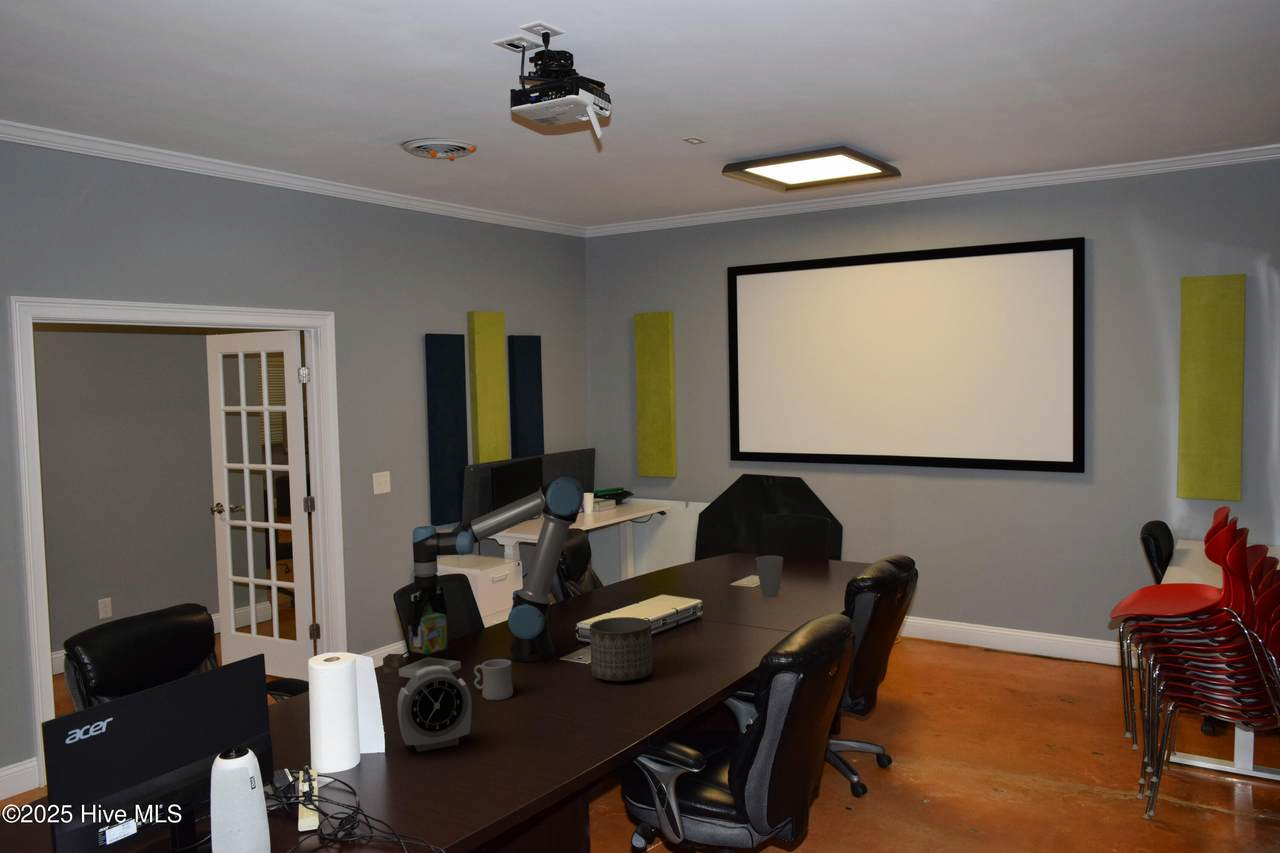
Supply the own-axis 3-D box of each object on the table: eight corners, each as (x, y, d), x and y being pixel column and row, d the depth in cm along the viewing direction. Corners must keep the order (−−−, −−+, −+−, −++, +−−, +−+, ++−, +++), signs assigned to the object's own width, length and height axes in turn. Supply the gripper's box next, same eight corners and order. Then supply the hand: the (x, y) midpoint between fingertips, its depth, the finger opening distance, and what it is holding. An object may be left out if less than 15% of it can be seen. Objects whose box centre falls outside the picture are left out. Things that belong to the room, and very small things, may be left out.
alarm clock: (403, 757, 231) (400, 677, 230) (398, 745, 238) (394, 668, 238) (474, 743, 238) (471, 666, 237) (467, 733, 245) (463, 658, 245)
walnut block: (404, 668, 307) (403, 653, 307) (397, 673, 302) (397, 658, 302) (389, 668, 307) (389, 653, 307) (383, 673, 303) (382, 658, 302)
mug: (518, 692, 278) (517, 659, 277) (504, 702, 269) (503, 668, 269) (482, 689, 282) (480, 657, 281) (467, 699, 273) (465, 666, 273)
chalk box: (427, 655, 294) (425, 609, 294) (408, 651, 300) (406, 606, 299) (448, 648, 302) (447, 603, 301) (430, 644, 307) (428, 600, 307)
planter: (662, 670, 294) (660, 619, 294) (637, 688, 277) (635, 634, 276) (608, 664, 303) (607, 615, 302) (580, 682, 285) (578, 629, 284)
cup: (756, 597, 391) (754, 560, 391) (757, 591, 403) (756, 555, 402) (784, 597, 389) (783, 560, 389) (784, 591, 401) (783, 555, 400)
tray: (460, 668, 304) (460, 661, 304) (432, 681, 292) (432, 673, 292) (428, 664, 311) (427, 657, 310) (399, 676, 298) (398, 668, 298)
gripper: (439, 567, 311) (442, 632, 312) (393, 579, 292) (395, 649, 293) (456, 568, 308) (459, 634, 309) (411, 581, 288) (413, 652, 289)
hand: (428, 642), depth 301 cm, fingers closed on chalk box, 9 cm apart
